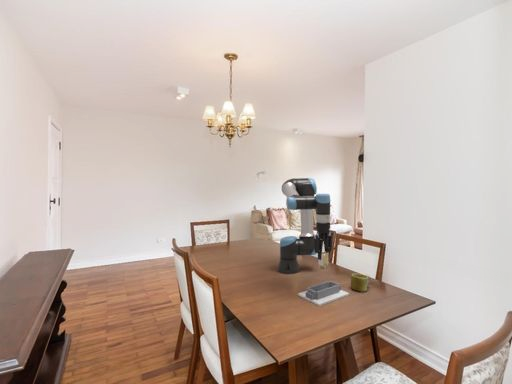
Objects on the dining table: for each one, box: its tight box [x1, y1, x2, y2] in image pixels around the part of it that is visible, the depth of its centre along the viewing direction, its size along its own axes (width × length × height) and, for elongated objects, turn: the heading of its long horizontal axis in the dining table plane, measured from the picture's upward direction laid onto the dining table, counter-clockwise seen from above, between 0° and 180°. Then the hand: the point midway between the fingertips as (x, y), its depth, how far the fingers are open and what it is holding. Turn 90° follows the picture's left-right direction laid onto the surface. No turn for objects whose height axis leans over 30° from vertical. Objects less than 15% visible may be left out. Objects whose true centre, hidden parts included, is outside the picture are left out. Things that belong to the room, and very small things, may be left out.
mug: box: [350, 273, 371, 293], centre depth 160 cm, size 12×10×10 cm
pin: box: [319, 251, 328, 270], centre depth 152 cm, size 4×4×8 cm
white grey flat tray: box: [297, 280, 350, 307], centre depth 153 cm, size 16×23×5 cm
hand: (323, 264), depth 152 cm, fingers closed on pin, 3 cm apart
